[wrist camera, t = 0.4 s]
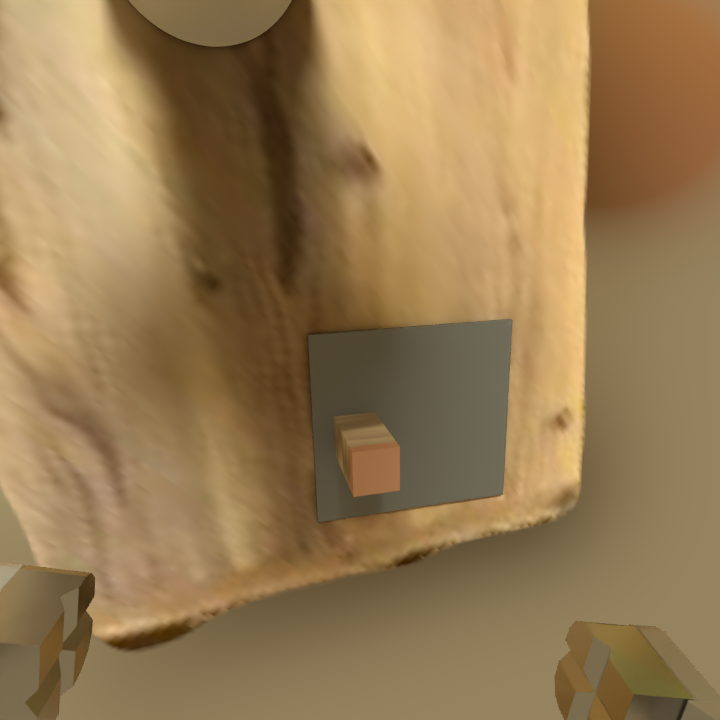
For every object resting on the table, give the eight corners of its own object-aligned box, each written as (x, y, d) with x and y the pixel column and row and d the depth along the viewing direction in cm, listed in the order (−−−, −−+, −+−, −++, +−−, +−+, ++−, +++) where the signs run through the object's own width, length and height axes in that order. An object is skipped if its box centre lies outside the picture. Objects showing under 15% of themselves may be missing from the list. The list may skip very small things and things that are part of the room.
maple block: (333, 416, 50) (352, 452, 43) (374, 412, 51) (399, 446, 43) (335, 455, 51) (353, 497, 44) (375, 450, 52) (399, 490, 44)
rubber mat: (307, 334, 48) (308, 335, 47) (509, 319, 52) (512, 320, 52) (317, 519, 53) (318, 522, 53) (500, 492, 57) (502, 494, 57)
